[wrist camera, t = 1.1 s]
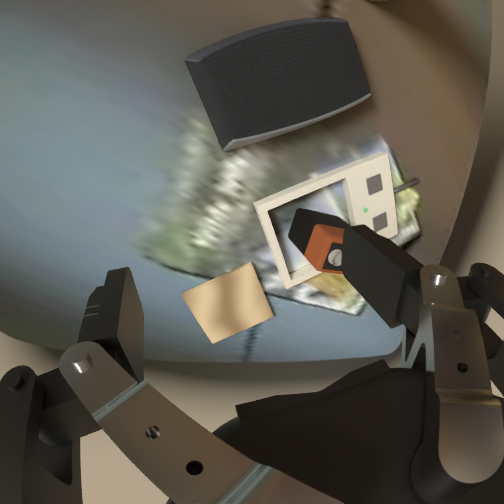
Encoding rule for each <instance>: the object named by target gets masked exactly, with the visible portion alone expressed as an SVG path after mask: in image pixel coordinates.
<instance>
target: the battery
mask: <svg viewBox="0 0 504 504" xmlns="http://www.w3.org/2000/svg"><path fill="white" fill-rule="evenodd" d="M346 227H350V225H349V224H347V223H346V222H345V221H343V220H342V219H341V218H339V217H337V216H333V215H329V214H325V213H320V212H316V211H311V210H307V209H302V208H299V209H297V210H296V213H295V216H294V219H293V222H292V225H291V228H290V231H289V234H288V237H289V239H290V240H291V241H292V242H293V243H294V245H295V246H296V247H297V248H298V249H299V250H300V252H301V253H302V254H303V255H304V256H305V257H306V259H307V260H308V261H309V262H310V263H311V264H312V266H313V267H314V268H315V269H316V270H317V271H320V272H328V273H337V274H343V272H342V268H341V257H342V244H343V232H344V229H345V228H346Z"/></svg>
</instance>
